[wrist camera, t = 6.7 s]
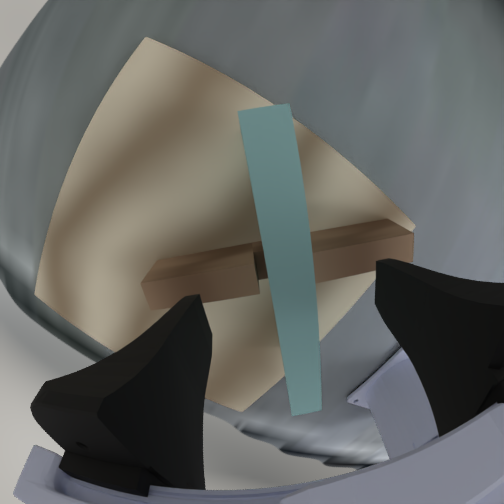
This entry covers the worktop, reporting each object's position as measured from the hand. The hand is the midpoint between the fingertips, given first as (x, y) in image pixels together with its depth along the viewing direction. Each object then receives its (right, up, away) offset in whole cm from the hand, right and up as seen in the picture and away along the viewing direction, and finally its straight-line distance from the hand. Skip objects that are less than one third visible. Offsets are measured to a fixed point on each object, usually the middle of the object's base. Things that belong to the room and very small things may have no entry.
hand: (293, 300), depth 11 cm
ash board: (-5, +1, +6) cm, 8 cm away
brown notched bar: (0, +2, +6) cm, 6 cm away
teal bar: (0, +2, +5) cm, 5 cm away
